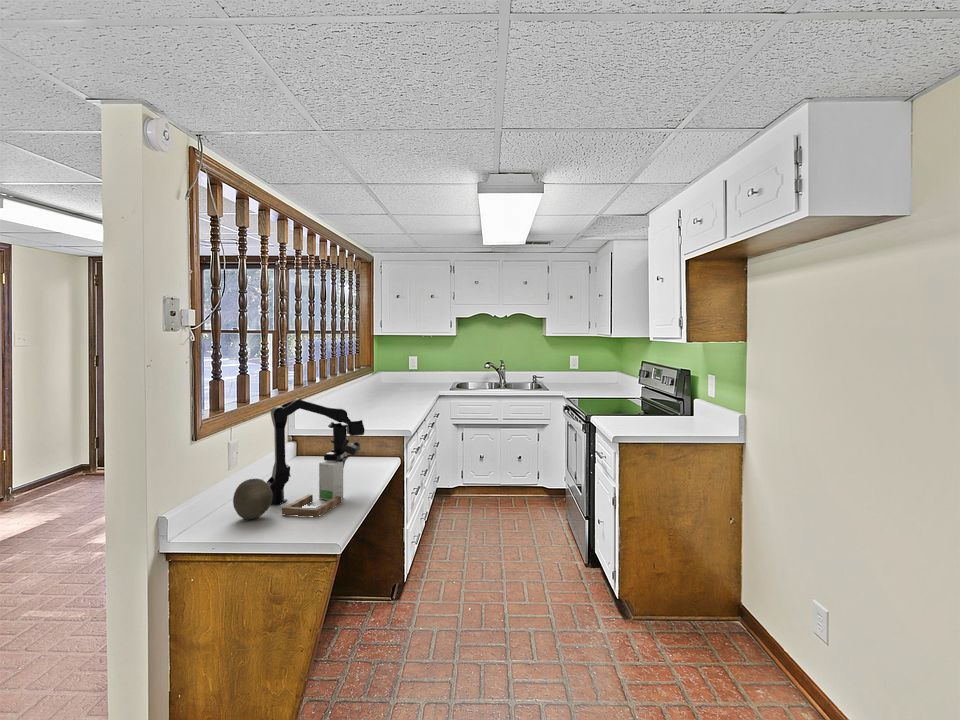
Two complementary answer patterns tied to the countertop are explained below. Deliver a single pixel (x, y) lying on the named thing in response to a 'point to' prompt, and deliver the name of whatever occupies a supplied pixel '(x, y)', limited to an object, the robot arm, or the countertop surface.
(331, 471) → the skincare box
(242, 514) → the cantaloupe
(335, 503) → the wooden tray
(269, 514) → the countertop surface
